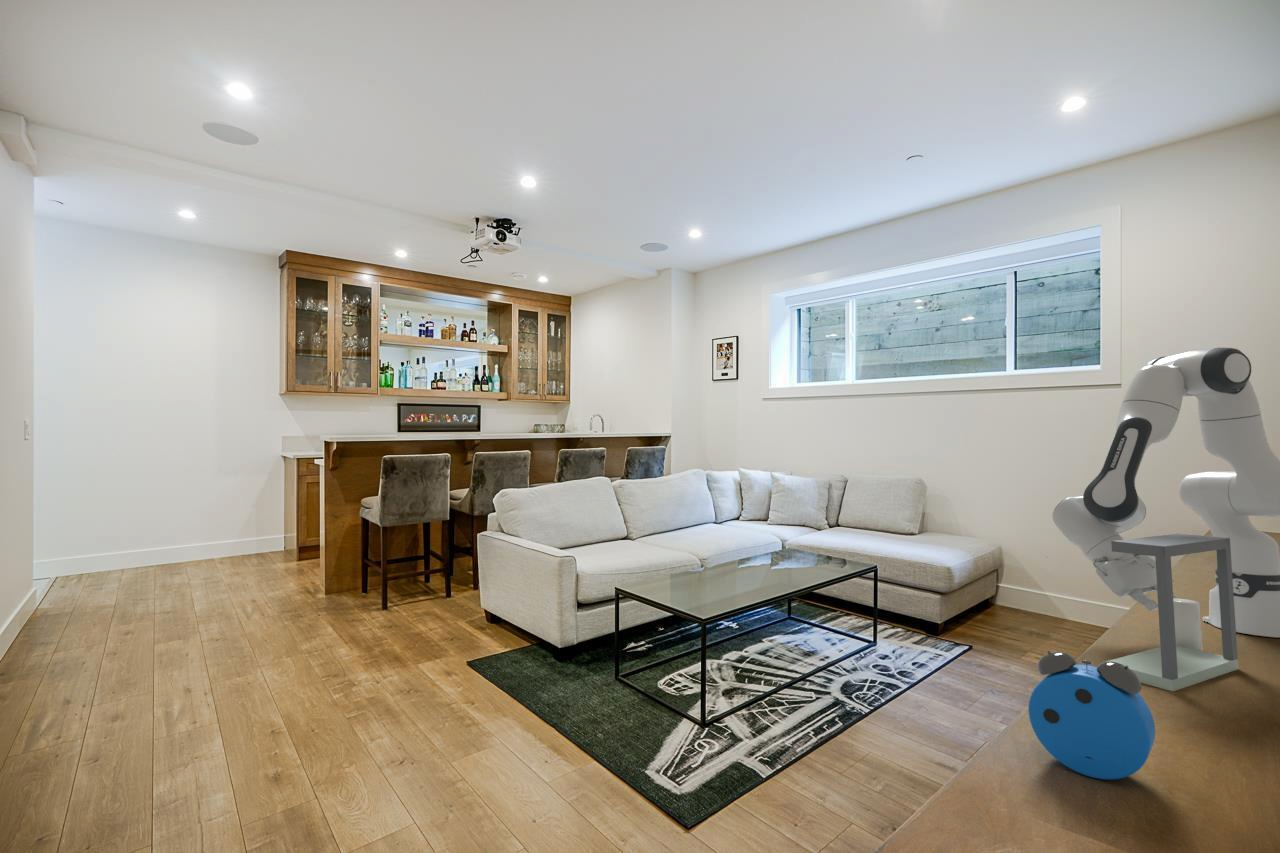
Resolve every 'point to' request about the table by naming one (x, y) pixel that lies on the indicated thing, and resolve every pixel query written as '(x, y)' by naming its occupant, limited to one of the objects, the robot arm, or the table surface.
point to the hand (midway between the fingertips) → (1166, 606)
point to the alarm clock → (1092, 716)
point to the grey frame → (1170, 661)
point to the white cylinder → (1187, 624)
